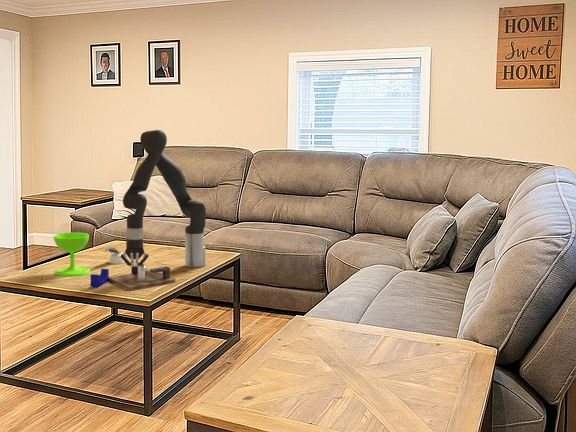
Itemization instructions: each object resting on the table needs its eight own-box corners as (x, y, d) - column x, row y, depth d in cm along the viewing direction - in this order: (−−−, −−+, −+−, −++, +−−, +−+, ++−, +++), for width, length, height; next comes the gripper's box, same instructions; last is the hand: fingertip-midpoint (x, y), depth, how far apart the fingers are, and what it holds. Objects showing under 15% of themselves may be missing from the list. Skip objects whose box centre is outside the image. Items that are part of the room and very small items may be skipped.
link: (138, 271, 298) (137, 261, 297) (147, 271, 298) (147, 261, 298) (136, 281, 280) (136, 270, 280) (146, 281, 281) (146, 270, 280)
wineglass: (48, 272, 299) (47, 235, 296) (78, 266, 311) (77, 231, 308) (66, 278, 289) (64, 240, 286) (96, 272, 301) (95, 235, 298)
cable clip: (99, 281, 287) (99, 268, 286) (108, 281, 286) (108, 268, 285) (87, 288, 275) (87, 274, 274) (97, 288, 274) (96, 275, 273)
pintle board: (152, 273, 302) (152, 260, 301) (175, 282, 287) (175, 268, 286) (107, 280, 287) (107, 266, 286) (129, 290, 272) (129, 276, 271)
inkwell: (130, 260, 327) (129, 241, 325) (115, 268, 310) (114, 248, 308) (113, 259, 328) (112, 240, 327) (97, 267, 311) (97, 247, 309)
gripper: (149, 235, 289) (149, 272, 292) (120, 235, 286) (120, 272, 289) (149, 238, 282) (149, 276, 284) (119, 238, 279) (119, 276, 282)
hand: (134, 274), depth 287 cm, fingers closed
